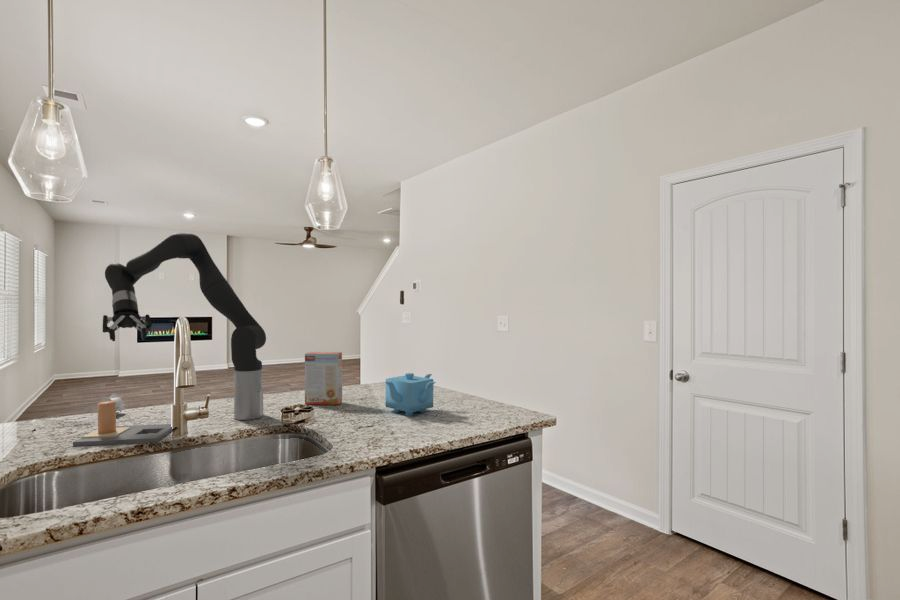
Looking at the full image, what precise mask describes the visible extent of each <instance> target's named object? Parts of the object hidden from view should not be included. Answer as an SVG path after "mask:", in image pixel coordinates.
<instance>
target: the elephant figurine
mask: <svg viewBox="0 0 900 600" xmlns="http://www.w3.org/2000/svg"><path fill="white" fill-rule="evenodd" d="M107 401H116V411H120V412H116V414H117V413H118V414H119V413H121V412H123V411H122V410H124V411H125V407H126V408H129V406H128V405H127V404H125V403H124V402H123V398H121V397H120V395H119V394H118V393H112V394H111V395H110V396H109V397H102V398H101V399H100V401H99V402H98V403H101V402H107ZM98 403H97V404H96V405H97V406H98Z"/></svg>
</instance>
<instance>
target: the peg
mask: <svg viewBox="0 0 900 600" xmlns="http://www.w3.org/2000/svg"><path fill="white" fill-rule="evenodd" d="M97 404H98V405H97V429H98V434H107V433H112V432H115V431H116V426H117V413H116V401H107V402H101V403H99V402H98V403H97Z"/></svg>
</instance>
